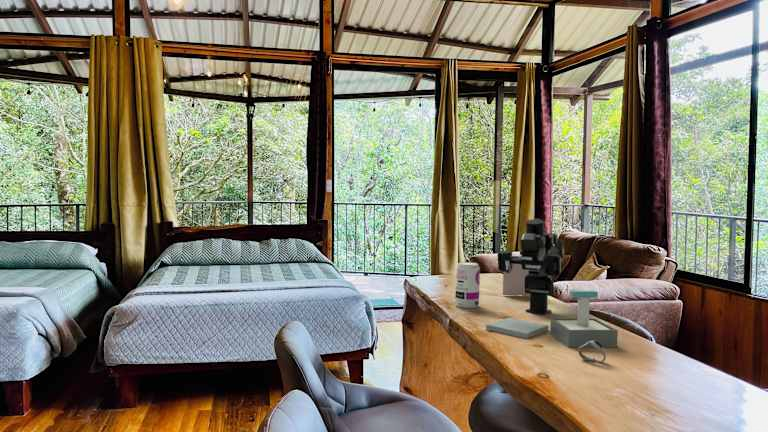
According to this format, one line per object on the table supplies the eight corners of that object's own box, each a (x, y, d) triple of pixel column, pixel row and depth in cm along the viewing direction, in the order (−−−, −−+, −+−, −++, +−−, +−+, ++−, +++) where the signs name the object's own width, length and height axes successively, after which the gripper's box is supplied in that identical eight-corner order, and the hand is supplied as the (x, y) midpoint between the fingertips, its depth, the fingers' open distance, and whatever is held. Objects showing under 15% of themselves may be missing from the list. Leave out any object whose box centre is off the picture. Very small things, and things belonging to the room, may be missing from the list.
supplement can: (480, 304, 190) (481, 262, 190) (476, 309, 182) (477, 265, 182) (457, 302, 193) (458, 261, 192) (453, 307, 185) (454, 264, 184)
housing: (550, 334, 152) (550, 318, 151) (594, 334, 152) (595, 318, 152) (568, 347, 139) (568, 330, 138) (617, 347, 139) (617, 330, 139)
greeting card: (532, 295, 208) (533, 257, 208) (526, 298, 202) (527, 259, 201) (504, 292, 214) (505, 255, 214) (497, 295, 208) (498, 257, 208)
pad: (508, 322, 165) (508, 317, 165) (548, 330, 156) (548, 325, 156) (485, 329, 155) (486, 324, 155) (526, 338, 146) (526, 333, 146)
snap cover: (555, 324, 151) (556, 287, 150) (593, 324, 151) (594, 287, 151) (570, 334, 140) (572, 295, 139) (611, 334, 140) (613, 295, 140)
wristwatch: (604, 365, 125) (605, 344, 124) (576, 360, 128) (577, 340, 128) (606, 361, 128) (607, 340, 127) (579, 357, 131) (580, 336, 131)
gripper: (503, 229, 172) (490, 245, 159) (563, 231, 163) (555, 249, 150) (504, 261, 175) (491, 279, 162) (564, 265, 166) (555, 285, 153)
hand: (522, 273), depth 157 cm, fingers open, 9 cm apart
